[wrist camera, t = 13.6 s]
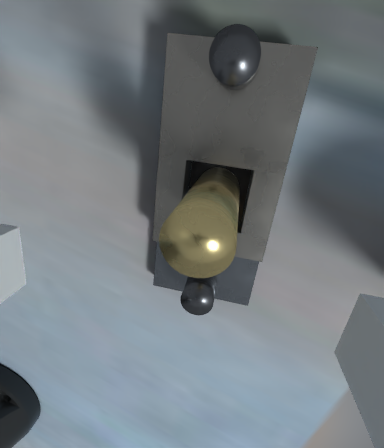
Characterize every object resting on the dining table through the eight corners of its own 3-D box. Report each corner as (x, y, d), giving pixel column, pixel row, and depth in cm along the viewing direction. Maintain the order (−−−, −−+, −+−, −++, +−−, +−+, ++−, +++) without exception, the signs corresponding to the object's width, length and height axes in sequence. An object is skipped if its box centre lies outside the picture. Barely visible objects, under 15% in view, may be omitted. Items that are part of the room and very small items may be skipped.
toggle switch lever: (235, 212, 25) (228, 285, 14) (194, 205, 25) (156, 269, 14) (243, 171, 23) (243, 215, 12) (199, 164, 24) (162, 200, 13)
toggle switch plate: (247, 296, 28) (248, 339, 22) (157, 277, 29) (137, 313, 24) (307, 57, 20) (332, 32, 14) (177, 44, 21) (153, 16, 15)
